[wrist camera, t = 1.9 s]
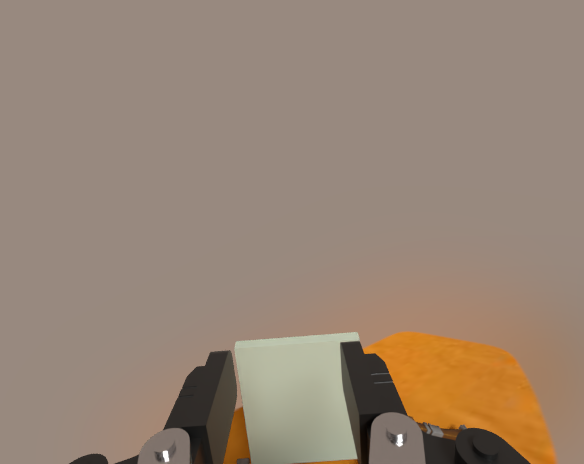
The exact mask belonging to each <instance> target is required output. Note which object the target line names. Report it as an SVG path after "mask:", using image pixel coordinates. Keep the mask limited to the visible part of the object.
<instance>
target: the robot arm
mask: <svg viewBox="0 0 584 464" xmlns="http://www.w3.org/2000/svg"><path fill="white" fill-rule="evenodd" d="M340 355H341V373H342V385H343V392H344V397H345V402H346V406H347V411H348V416H349V421H350V425H351V430H352V435H353V440H354V444H355V449H356V454H357V458H358V463H359V464H530V463H529V462H528V461H527V460H526V459H525V458H524V457H523V456H522V455H520V454H519V453H518V452H517V451H516V450H515V449H514V448H513V447H511V446H510V445H509V444H508V443H507V442H506V441H505V440H503V439H502V438H501V437H499V436H498V435H496V434H494V433H492V432H490V431H487V430H484V429H479V428H468V429H464V430H462V431H461V432H459V433H458V435H457V437H456V440H451V439H447V438H442V437H437V436H433V435H431V434H428V433H426V432H424V431H422V430H421V429H420V427H419V426H418V424H417V423H416V422H415V421H414V420H412V419H411V418H409V417H408V415H407V413H406V411H405V408H404V406H403V404H402V401H401V399H400V397H399V394H398V392H397V390H396V387H395V385H394V383H393V380H392V378H391V376H390V374H389V371H388V369H387V366H386V364H385V362H384V361H383V360H382V359H381V358H380V357H379V356H377V355H376V354H375V353H374V354H364V352H363V349H362V346H361V344H360V341H350V342H340ZM236 398H237V385H236V378H235V372H234V365H233V358H232V353H231V351H230V350H229V351H217V352H211V353H210V355H209V357H208V359H207V362H206V365H205V366H199V367H196V368H195V369H194V370H193V371H192V372H191V373H190V374H189V375H188V376H187V378H186V380H185V383H184V385H183V387H182V390H181V391H180V394H179V397H178V398H177V400H176V402H175V405H174V407H173V409H172V411H171V414H170V416H169V418H168V420H167V423H166V425H165V427H164V429H163V431H161V432H159V433H157V434H155V435H154V436H153V437H151V438H150V439H149V440H148V441H147V442H146V443H145V444H144V446H143V447H142V449H141V451H140V454H139V455H137V456H135V457H132V458H130V459H127V460H124V461H121V462H118V463H115V464H223V461H224V456H225V451H226V447H227V442H228V437H229V433H230V428H231V423H232V419H233V414H234V409H235V404H236ZM70 464H108V461H107V459H106V457H105V456H103V455H101V454H90V455H86V456H83V457H80V458H78V459H76V460H74V461H73V462H71V463H70Z"/></svg>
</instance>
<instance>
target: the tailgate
mask: <svg viewBox="0 0 584 464" xmlns="http://www.w3.org/2000/svg"><path fill="white" fill-rule="evenodd" d="M350 341H360V339H359V336H358V333H357V332H353V333H341V334H328V335H314V336H302V337H288V338H276V339H262V340H249V341H237V342H236V345H235V348H234V349H235V356H236V363H237V369H238V376H239V383H240V389H241V396H242V403H243V410H244V417H245V423H246V430H247V437H248V443H249V450H250V457H251V464H292V463H306V462H321V461H335V460H349V459H358V458H357V454H356V449H355V444H354V440H353V435H352V430H351V425H350V421H349V416H348V411H347V406H346V402H345V397H344V392H343V385H342V373H341V355H340V342H350Z"/></svg>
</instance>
